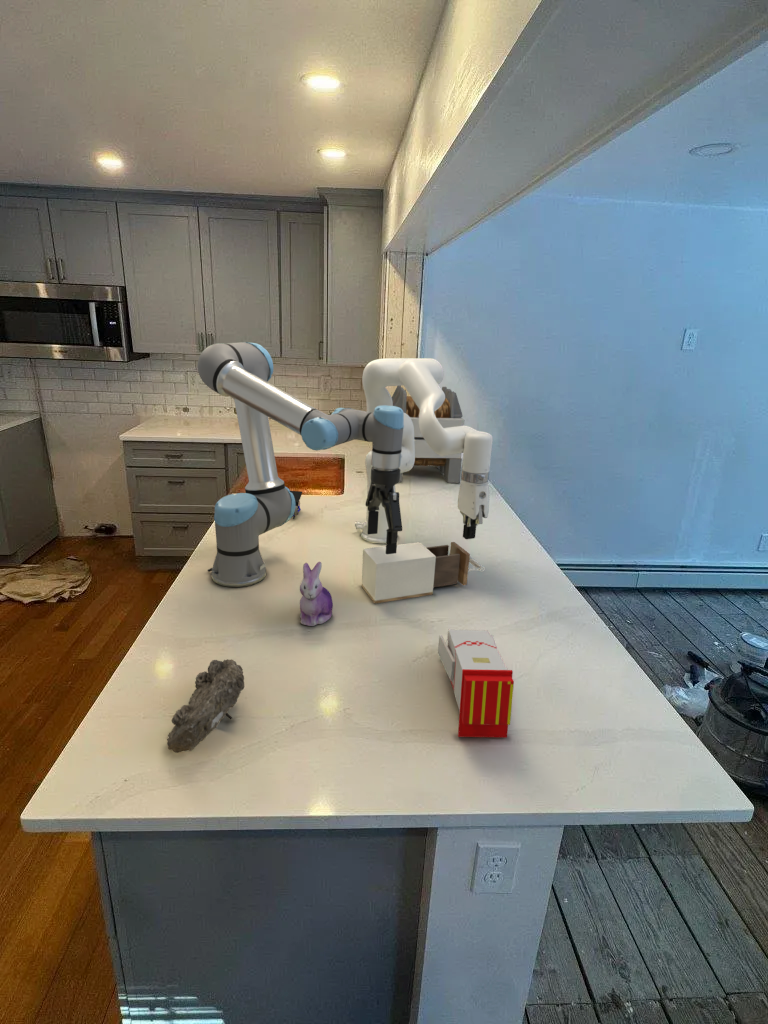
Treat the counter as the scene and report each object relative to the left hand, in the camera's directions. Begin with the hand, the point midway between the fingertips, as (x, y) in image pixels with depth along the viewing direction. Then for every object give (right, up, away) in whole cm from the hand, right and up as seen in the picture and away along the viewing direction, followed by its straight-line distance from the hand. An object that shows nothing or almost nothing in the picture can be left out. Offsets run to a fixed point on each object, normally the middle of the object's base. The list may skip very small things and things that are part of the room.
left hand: (381, 543), depth 153 cm
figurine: (-17, -19, -9) cm, 26 cm away
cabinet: (+4, -14, +7) cm, 16 cm away
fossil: (-32, -31, -45) cm, 63 cm away
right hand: (+25, +1, +10) cm, 27 cm away
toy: (+19, -29, -34) cm, 49 cm away
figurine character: (-34, +7, +60) cm, 70 cm away
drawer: (+18, -11, +12) cm, 24 cm away
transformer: (+18, +27, +122) cm, 126 cm away
